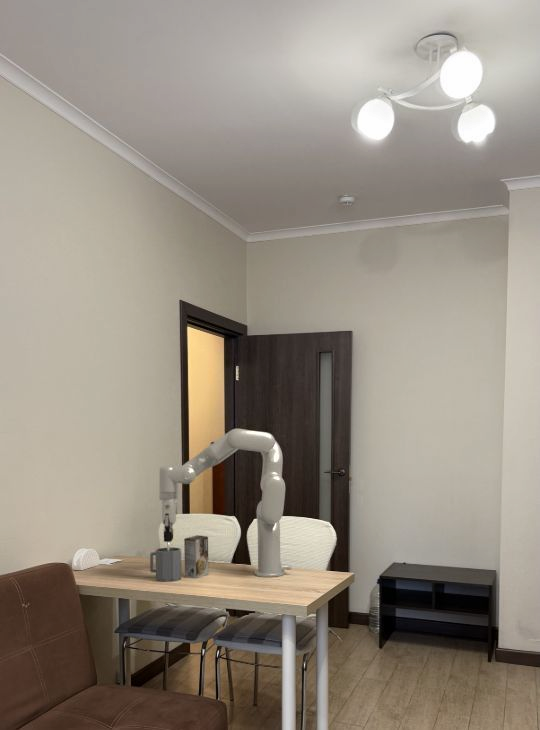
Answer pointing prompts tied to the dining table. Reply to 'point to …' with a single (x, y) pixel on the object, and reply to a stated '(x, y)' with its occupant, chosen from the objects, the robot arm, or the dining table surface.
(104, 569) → the dining table surface
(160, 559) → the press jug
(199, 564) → the coffee box
